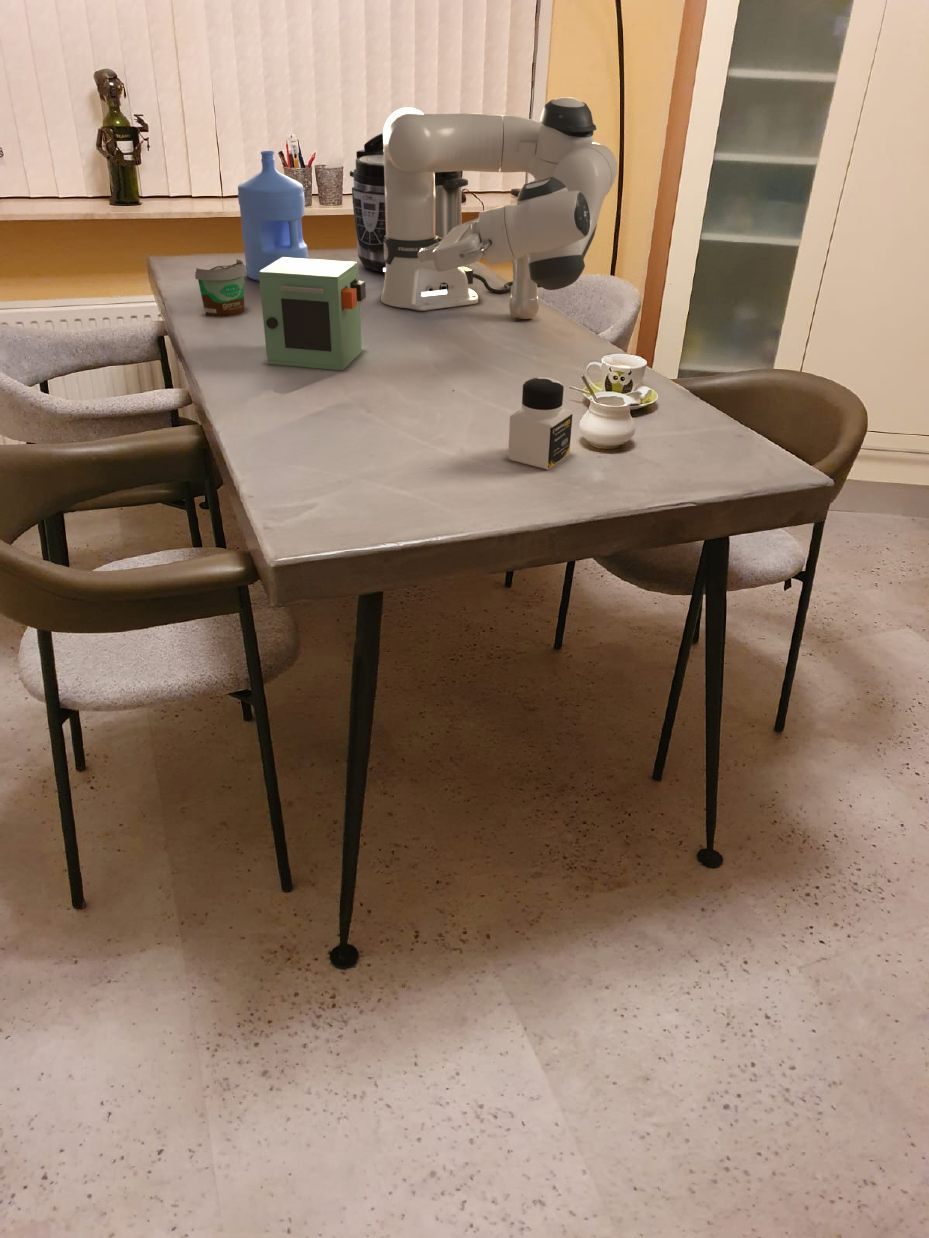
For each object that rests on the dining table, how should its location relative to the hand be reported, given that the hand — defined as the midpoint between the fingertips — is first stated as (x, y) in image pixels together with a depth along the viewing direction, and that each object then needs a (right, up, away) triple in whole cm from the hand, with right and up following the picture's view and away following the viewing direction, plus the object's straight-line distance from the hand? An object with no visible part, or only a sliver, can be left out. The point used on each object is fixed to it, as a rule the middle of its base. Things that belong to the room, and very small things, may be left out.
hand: (419, 256), depth 169 cm
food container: (-43, +3, +42) cm, 60 cm away
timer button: (-13, -4, +12) cm, 18 cm away
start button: (-14, -7, +7) cm, 17 cm away
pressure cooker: (-7, +28, +81) cm, 86 cm away
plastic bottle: (+21, +2, +42) cm, 47 cm away
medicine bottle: (+19, -39, -22) cm, 49 cm away
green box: (-21, -13, +17) cm, 30 cm away
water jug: (-39, +22, +70) cm, 83 cm away
